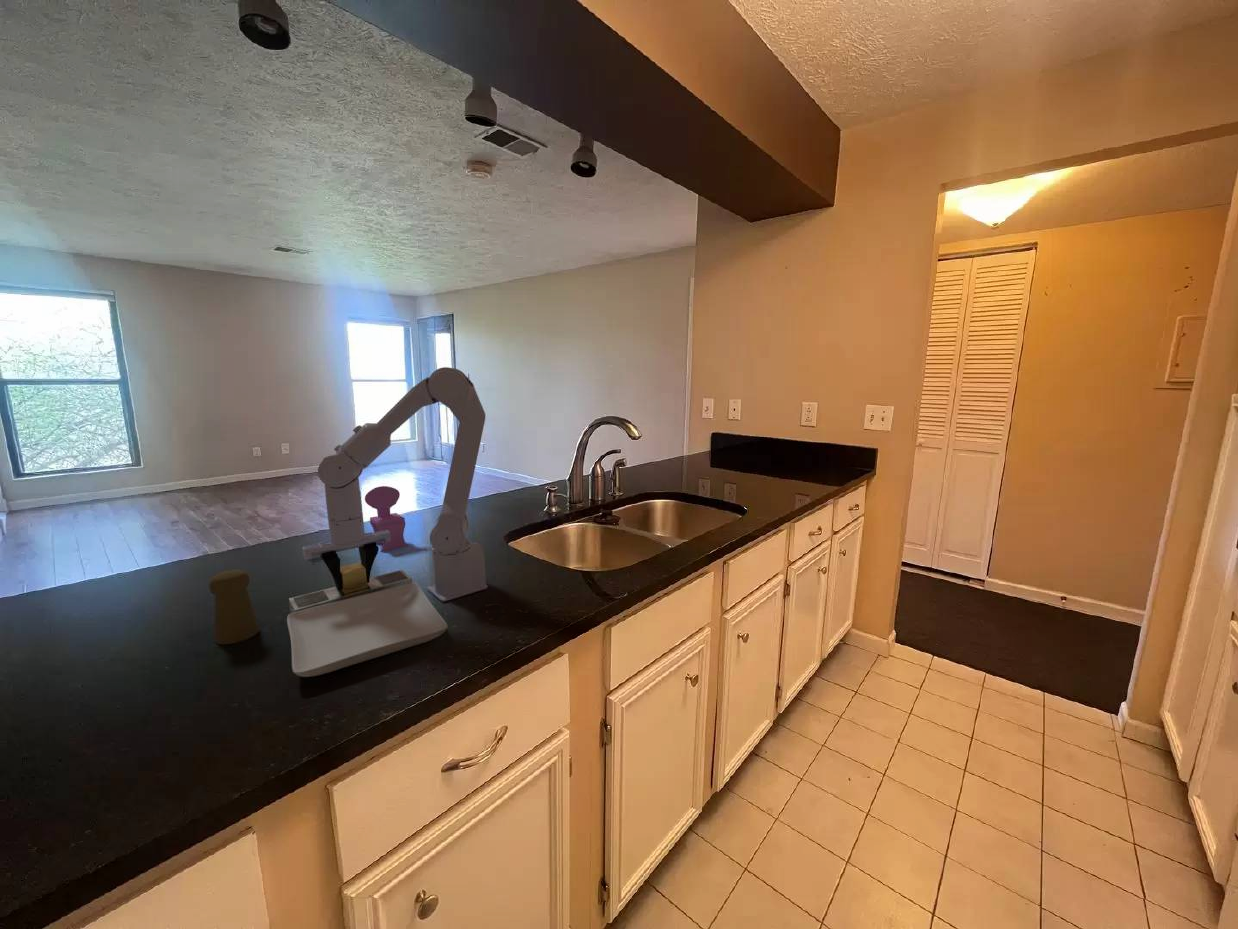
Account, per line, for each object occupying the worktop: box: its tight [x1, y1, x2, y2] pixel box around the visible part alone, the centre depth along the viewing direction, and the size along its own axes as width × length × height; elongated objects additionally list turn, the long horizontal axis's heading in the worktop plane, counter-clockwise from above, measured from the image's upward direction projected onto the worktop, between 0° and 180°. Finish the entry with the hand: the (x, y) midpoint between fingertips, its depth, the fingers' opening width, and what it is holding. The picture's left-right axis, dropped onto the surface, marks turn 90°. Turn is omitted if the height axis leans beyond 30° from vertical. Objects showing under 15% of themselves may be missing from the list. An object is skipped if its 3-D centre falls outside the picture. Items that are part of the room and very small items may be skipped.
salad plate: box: [286, 582, 448, 678], centre depth 80 cm, size 21×21×3 cm
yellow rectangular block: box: [339, 561, 368, 596], centre depth 93 cm, size 4×4×6 cm
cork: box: [208, 569, 261, 645], centre depth 80 cm, size 6×6×11 cm
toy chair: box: [364, 485, 408, 553], centre depth 123 cm, size 8×9×15 cm
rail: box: [288, 569, 413, 614], centre depth 93 cm, size 20×6×2 cm, turn 132°
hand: (352, 585), depth 93 cm, fingers closed on yellow rectangular block, 4 cm apart
